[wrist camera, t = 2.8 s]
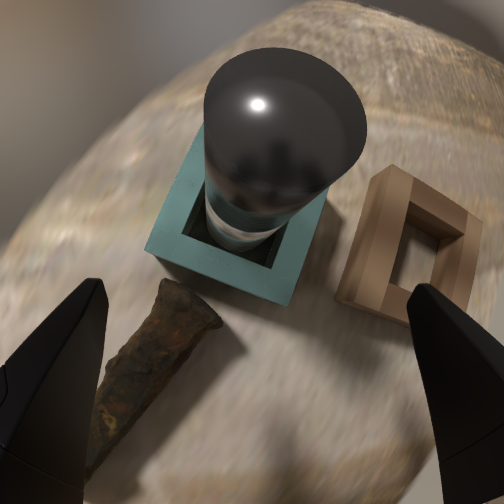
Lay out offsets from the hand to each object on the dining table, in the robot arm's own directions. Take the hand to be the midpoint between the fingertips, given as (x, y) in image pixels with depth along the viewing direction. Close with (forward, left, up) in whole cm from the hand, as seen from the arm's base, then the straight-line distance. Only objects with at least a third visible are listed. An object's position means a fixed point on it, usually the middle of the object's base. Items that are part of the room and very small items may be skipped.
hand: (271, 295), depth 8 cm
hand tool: (-10, +4, -11) cm, 16 cm away
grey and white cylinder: (+4, +2, -11) cm, 12 cm away
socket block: (+4, +2, -11) cm, 12 cm away
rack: (+6, -10, -11) cm, 16 cm away
